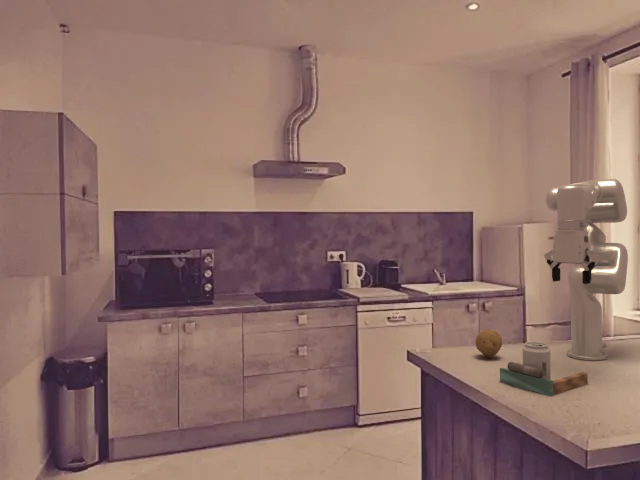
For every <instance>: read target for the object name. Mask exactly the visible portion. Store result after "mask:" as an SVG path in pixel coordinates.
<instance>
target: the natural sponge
mask: <svg viewBox="0 0 640 480" xmlns="http://www.w3.org/2000/svg"><path fill="white" fill-rule="evenodd" d="M502 346H503V338H502V336H501V335H500V334H499V332H497V331H496V330H493V329H490V328H489V329H487V328H486V329H484V330H482V331H481V332H480V333H478V334H477V335H476V338H475V347H476V349H477V350H478V352H480V353H481V354H482V355H483V356H484V357H486V358H488V359H491V358H494V357H495V356H496V355H497V354H498V353H499V351H500V350H501V348H502Z"/></svg>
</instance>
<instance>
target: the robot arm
mask: <svg viewBox="0 0 640 480" xmlns="http://www.w3.org/2000/svg"><path fill="white" fill-rule="evenodd" d="M626 200H627V199H626V195H625V189H624V187H623V185H622V183H621V182H620V181H619V180H617V179H616V178H608V179H607V178H606V179H590V180H585V181H582V182H576V183H570V184H565V185H559V186H553V187H550V188H549V189H548V191H547V192H546V196H545V204H546V206H547V208H548V209H549V210H551V211H553V212H556V216H557V217H556V220H557V221H556V222H557V226H556V227H557V228H556V231H555V233H554V236H553V244H552V250H550V251H547V252H546V253H544V254H543V256H544V258H545V260H546V263H547V265H548V266H549V267H550V269H551V277H552V282H561V268H560V266H561V265H562V264H570V265H575V266H573V267H571V268H570V269H569V270H568V274H567V281H568V282H567V283H568V288H569V294H570V330H571V331H570V336H571V337H570V338H571V339H570V342H571V343H570V344H571V345H570V349H567V350H566V356H568V357H570V358H572V359H577V360H581V361H604V360H606V359H608V354H607V353H606V352H604V351H603V349H605V348H607V347H608V344H607V343H606V342H605V341H604V342H603V317H602V316H603V315H602V314H603V311H602V307H603V306H602V304H601V302H600V301H599V299H597V297H596V294H600V295H605V294H606V295H620V294H622V293H623V292H624V291H625V288H626V283H627V274H628V273H627V272H628V264H629V255H628V250H627V247H626V246H625V245H624V244H622V243H619V242H606V240H607V237H606V235H605V232H603V230H602V229H600V228H599V227H598V226H597V225H595V224H607V223H609V224H610V223H611V224H615V223H621V222H624V221H625V220H626V219H627V216H628V207H627V201H626ZM594 294H595V295H594Z"/></svg>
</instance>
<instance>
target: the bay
mask: <svg viewBox="0 0 640 480" xmlns="http://www.w3.org/2000/svg"><path fill="white" fill-rule="evenodd" d="M543 376H546V362H542V369H539V368H535V367H531V366H527V365H523V363H518V362H513V361H509V362H508V363H507V368H506V367H499V382H500V383H504V384H506V385H510V386H514V387H518V388H521V389H524V390H527V391H530V392H531V391H532V392H535V393H539V394H542V395H545V396H549V397H552V396H555V395H558V394H560V393H565V392H567V391H570V390H572V389H575V388H578V387H581V386H584V385H588V384H589V381H588V378H589V377H588V376H589V375H588V372H587V373H586V372H583V371H581V372H579V373H575V374H571V375H568V376H565V377H563V378H558V379H555V380H552V379H551V380H549V379H545V378H542V377H543Z"/></svg>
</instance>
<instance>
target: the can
mask: <svg viewBox="0 0 640 480" xmlns="http://www.w3.org/2000/svg"><path fill="white" fill-rule="evenodd" d="M548 346H549V344H548V343H545V342H541V341H527V342H525V343H524V346H523V347H522V365H527V366H531V367H535V368H539V369H542V362H546V376H543V377H542V378H545V379H549V380H552V379H551V378H552V377H551V375H552V374H551V367H552V366H551V365H552V364H551V349H550V348H549V347H548Z"/></svg>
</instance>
